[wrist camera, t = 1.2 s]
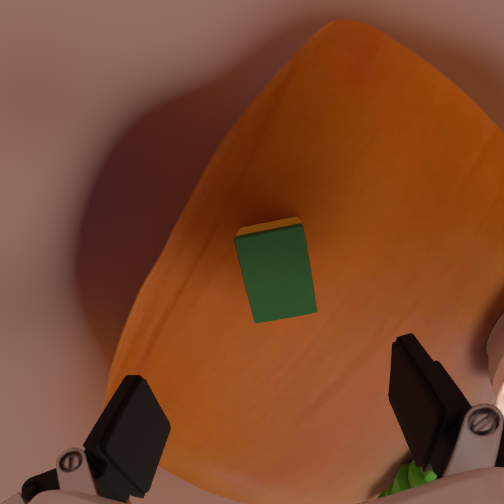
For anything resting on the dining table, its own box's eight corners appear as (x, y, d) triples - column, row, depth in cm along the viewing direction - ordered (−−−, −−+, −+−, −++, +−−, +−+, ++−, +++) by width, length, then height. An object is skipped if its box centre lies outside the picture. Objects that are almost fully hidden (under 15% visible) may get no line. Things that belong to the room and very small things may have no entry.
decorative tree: (503, 458, 19) (387, 545, 26) (488, 415, 29) (394, 506, 36) (453, 447, 22) (340, 535, 30) (443, 400, 33) (352, 495, 40)
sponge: (239, 227, 24) (233, 239, 21) (297, 216, 24) (303, 225, 20) (257, 301, 26) (254, 323, 22) (311, 291, 26) (317, 312, 22)
